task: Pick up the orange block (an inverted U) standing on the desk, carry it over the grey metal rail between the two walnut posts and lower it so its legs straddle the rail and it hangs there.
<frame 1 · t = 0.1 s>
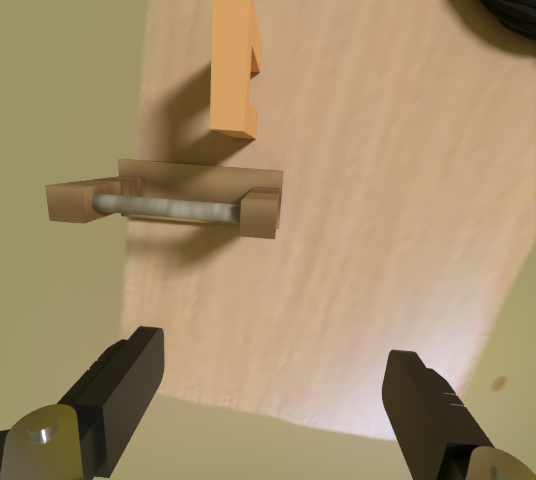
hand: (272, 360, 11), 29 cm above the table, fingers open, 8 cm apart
orange block: (246, 92, 35), on the table
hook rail: (202, 193, 39), on the table
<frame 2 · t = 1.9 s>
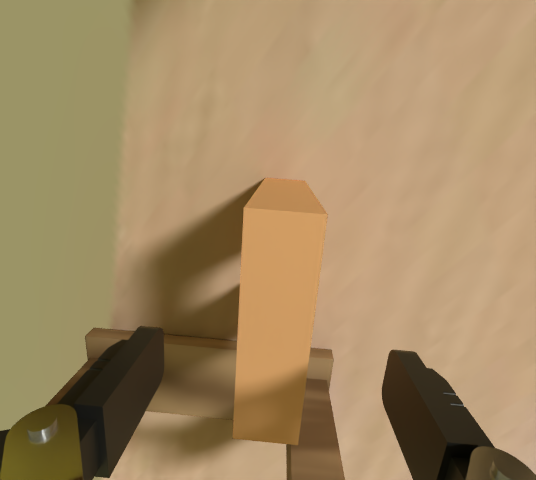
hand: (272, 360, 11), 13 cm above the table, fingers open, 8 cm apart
orange block: (279, 246, 23), on the table
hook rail: (210, 373, 26), on the table
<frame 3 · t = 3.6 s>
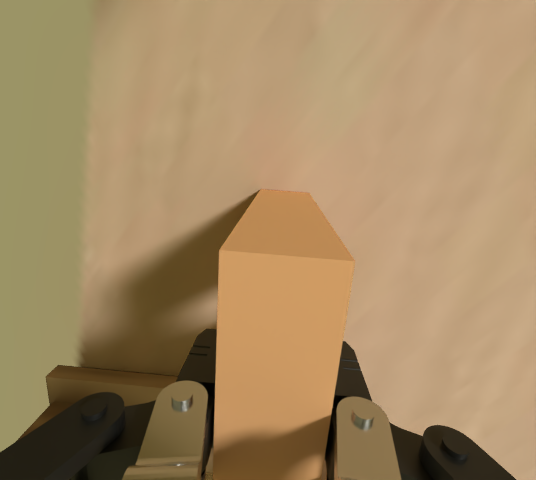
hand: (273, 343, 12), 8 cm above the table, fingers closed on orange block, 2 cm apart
orange block: (277, 271, 19), on the table, touching gripper
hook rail: (196, 418, 22), on the table
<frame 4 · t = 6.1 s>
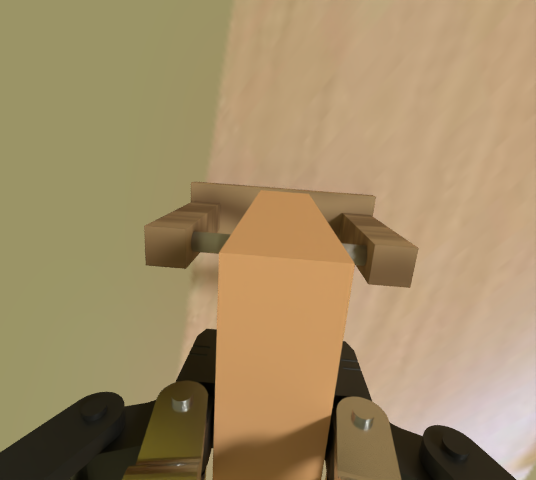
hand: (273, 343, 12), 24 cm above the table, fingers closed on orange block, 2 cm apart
orange block: (277, 272, 19), point 17 cm above the table, touching gripper
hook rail: (280, 219, 35), on the table
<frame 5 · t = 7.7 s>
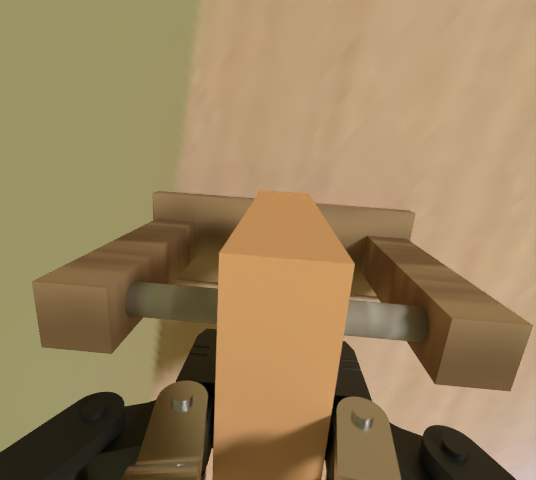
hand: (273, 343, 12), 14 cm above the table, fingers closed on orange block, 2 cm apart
orange block: (277, 272, 19), point 7 cm above the table, touching gripper
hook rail: (278, 242, 25), on the table
when the fingers open (13 cm above the table, at t = 8.6 s): orange block drops 2 cm, resting on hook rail.
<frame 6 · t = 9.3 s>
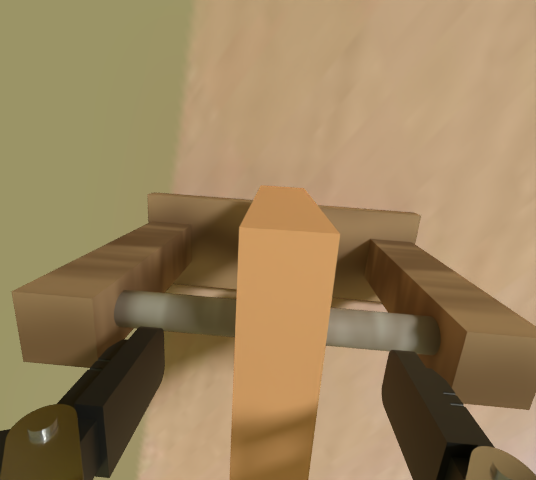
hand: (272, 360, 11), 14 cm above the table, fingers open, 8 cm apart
orange block: (277, 259, 21), point 3 cm above the table, touching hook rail
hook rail: (278, 246, 24), on the table
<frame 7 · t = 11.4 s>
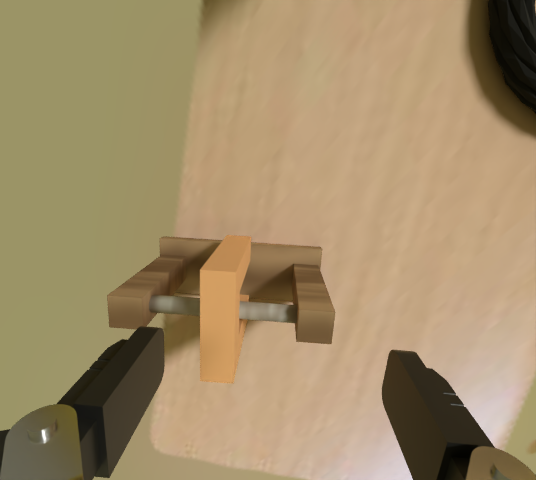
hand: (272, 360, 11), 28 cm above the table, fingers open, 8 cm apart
orange block: (237, 277, 36), point 3 cm above the table, touching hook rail
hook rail: (240, 268, 39), on the table
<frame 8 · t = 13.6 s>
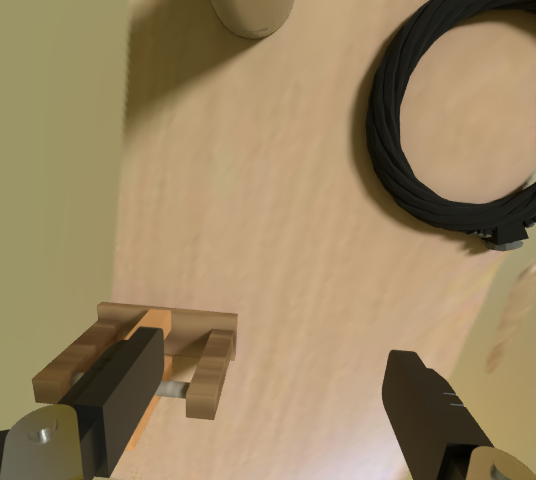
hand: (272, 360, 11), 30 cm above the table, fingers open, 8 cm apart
cable lock: (480, 126, 36), on the table
orange block: (161, 342, 42), point 3 cm above the table, touching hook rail
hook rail: (169, 329, 45), on the table
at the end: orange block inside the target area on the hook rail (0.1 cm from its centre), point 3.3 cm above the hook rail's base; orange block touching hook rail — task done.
